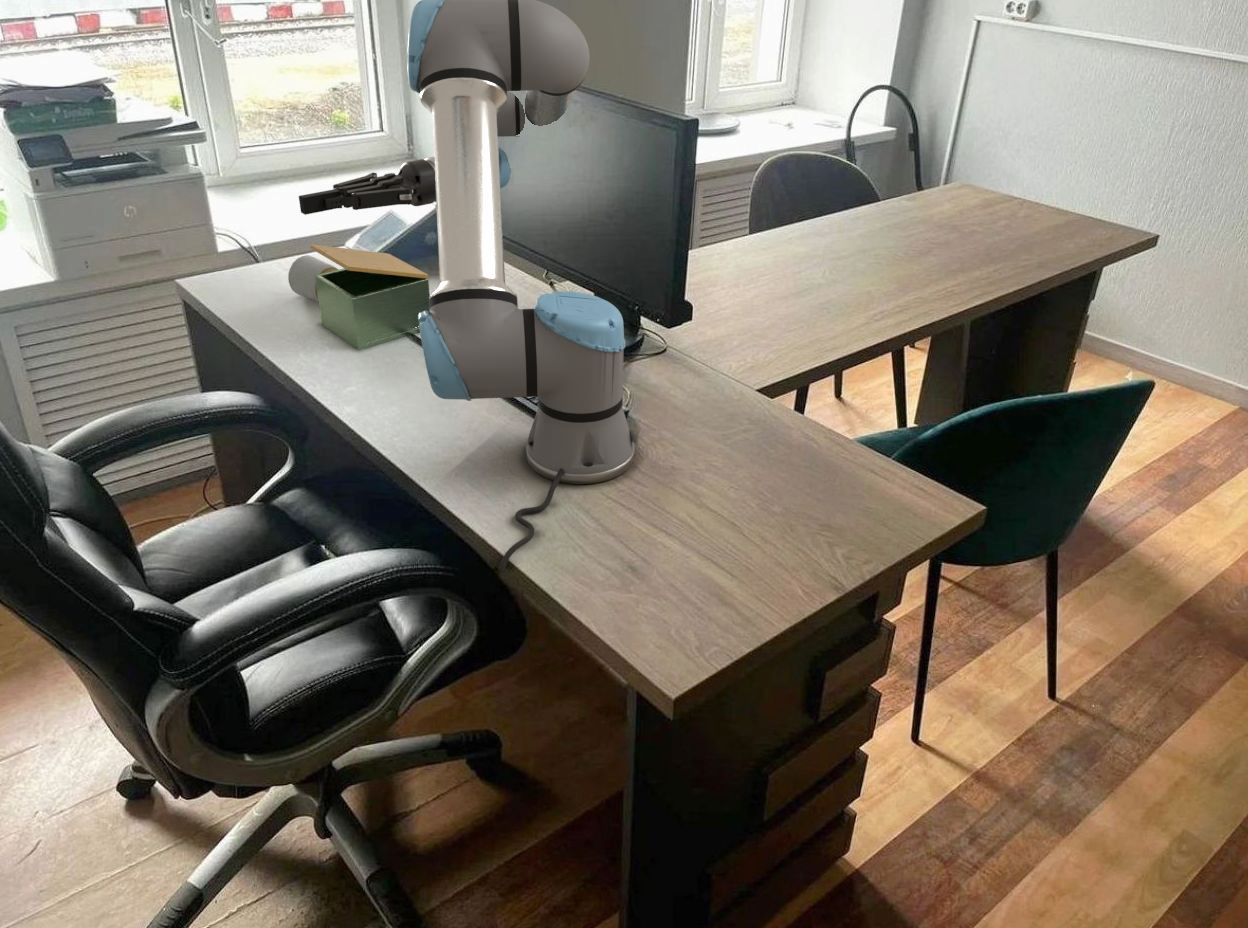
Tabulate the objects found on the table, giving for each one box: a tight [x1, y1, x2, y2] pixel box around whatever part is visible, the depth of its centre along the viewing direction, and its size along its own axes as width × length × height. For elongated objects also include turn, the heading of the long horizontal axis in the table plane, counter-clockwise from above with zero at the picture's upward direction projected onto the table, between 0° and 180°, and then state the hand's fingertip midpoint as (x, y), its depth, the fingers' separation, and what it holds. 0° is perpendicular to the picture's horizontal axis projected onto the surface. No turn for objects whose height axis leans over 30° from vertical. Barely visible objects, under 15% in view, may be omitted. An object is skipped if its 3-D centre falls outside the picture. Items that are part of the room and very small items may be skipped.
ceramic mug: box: [287, 254, 340, 303], centre depth 188 cm, size 11×8×8 cm
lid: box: [309, 243, 429, 280], centre depth 173 cm, size 15×14×1 cm
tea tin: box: [315, 268, 431, 351], centre depth 177 cm, size 15×14×9 cm
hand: (301, 205), depth 161 cm, fingers closed
